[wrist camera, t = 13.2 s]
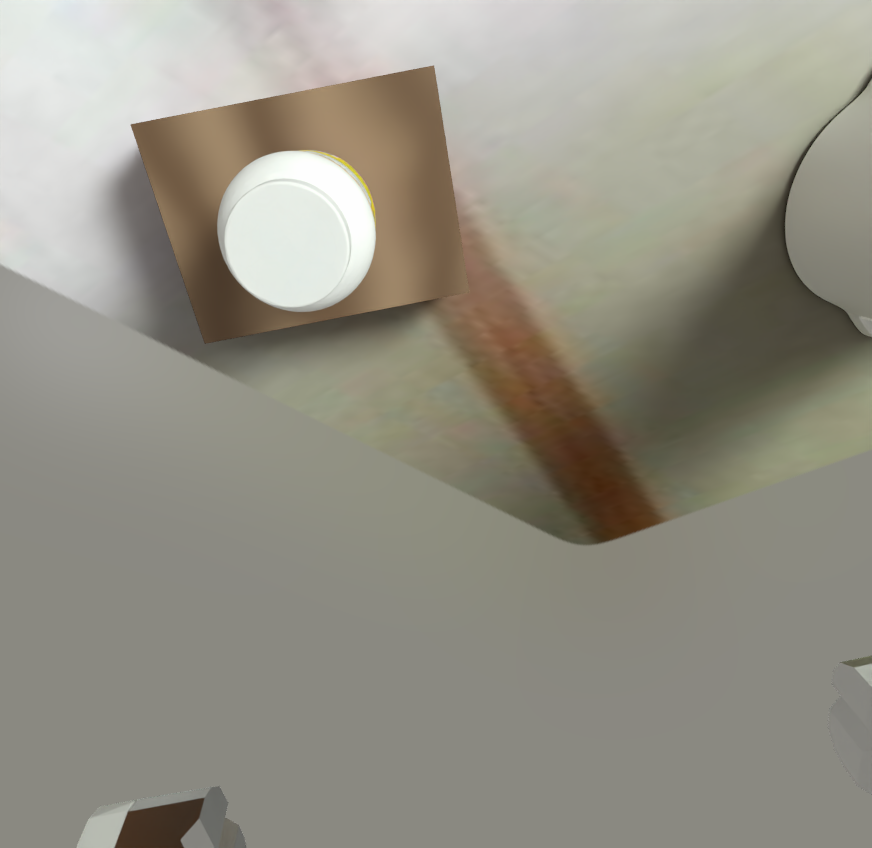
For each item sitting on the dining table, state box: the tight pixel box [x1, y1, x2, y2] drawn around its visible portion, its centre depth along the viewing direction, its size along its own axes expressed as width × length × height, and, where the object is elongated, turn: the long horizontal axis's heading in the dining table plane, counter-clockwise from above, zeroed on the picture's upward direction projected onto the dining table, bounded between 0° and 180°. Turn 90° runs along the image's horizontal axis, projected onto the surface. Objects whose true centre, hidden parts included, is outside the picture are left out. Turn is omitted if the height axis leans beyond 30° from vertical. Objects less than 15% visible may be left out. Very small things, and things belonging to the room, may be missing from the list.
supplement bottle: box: [217, 150, 376, 312], centre depth 30 cm, size 7×7×13 cm
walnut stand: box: [131, 66, 469, 344], centre depth 38 cm, size 16×12×5 cm
